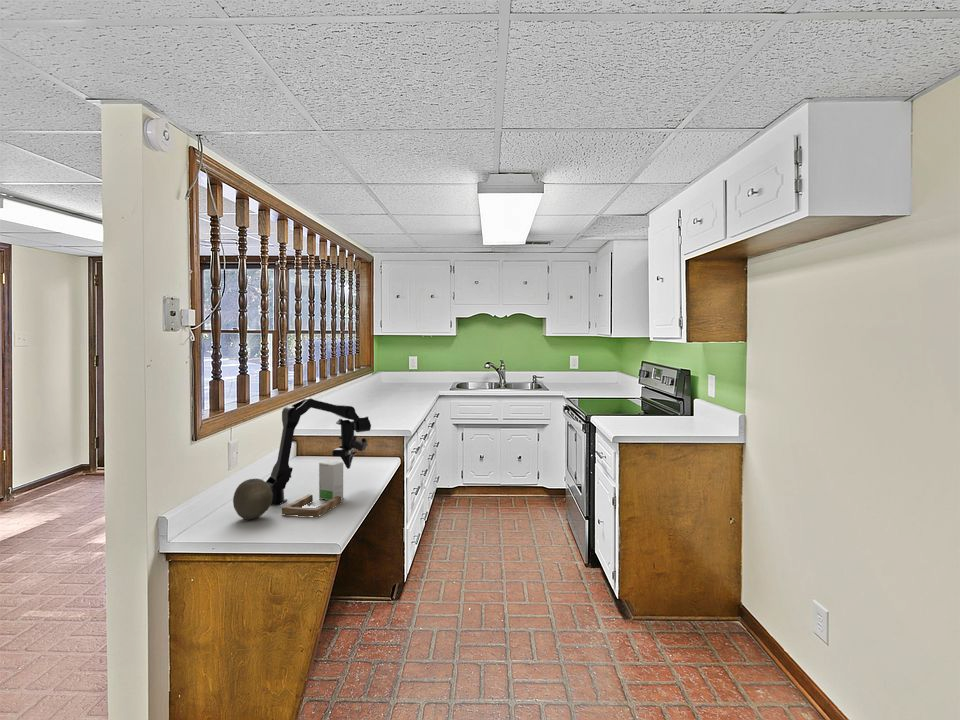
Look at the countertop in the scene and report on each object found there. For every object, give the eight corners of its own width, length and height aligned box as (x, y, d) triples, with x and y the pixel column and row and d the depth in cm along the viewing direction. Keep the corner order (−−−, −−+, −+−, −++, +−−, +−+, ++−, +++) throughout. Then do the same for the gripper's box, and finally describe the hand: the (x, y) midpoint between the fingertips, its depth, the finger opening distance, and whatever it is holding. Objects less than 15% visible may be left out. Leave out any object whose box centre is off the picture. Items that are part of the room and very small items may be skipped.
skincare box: (318, 499, 257) (317, 462, 256) (329, 495, 263) (328, 459, 262) (334, 501, 253) (333, 464, 253) (344, 497, 259) (343, 461, 258)
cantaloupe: (231, 526, 224) (230, 485, 223) (235, 515, 237) (234, 476, 236) (272, 522, 227) (271, 482, 227) (274, 511, 241) (272, 473, 240)
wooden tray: (317, 517, 232) (316, 510, 231) (281, 515, 235) (281, 507, 235) (341, 503, 250) (341, 496, 250) (308, 501, 254) (308, 494, 254)
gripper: (354, 437, 261) (355, 474, 262) (373, 430, 279) (373, 464, 280) (331, 437, 264) (332, 472, 265) (350, 430, 282) (351, 463, 283)
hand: (348, 468), depth 273 cm, fingers closed
